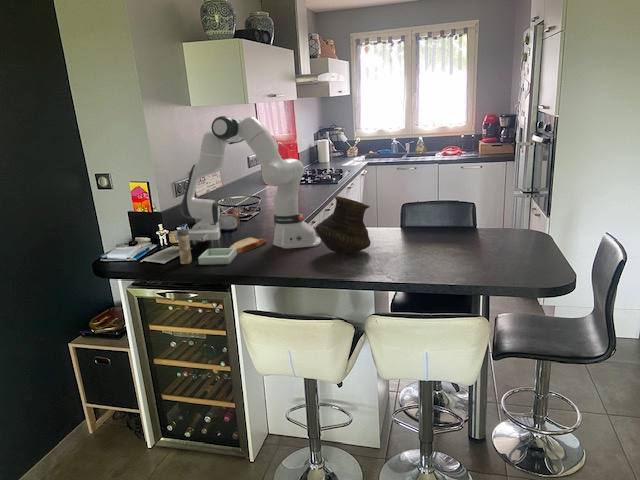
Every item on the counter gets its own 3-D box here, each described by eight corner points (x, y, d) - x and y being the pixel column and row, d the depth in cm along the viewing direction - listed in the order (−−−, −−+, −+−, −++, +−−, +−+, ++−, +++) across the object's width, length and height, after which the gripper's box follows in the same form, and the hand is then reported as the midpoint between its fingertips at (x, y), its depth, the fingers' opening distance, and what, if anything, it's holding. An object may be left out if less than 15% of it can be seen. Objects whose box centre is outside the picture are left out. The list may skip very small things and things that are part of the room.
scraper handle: (191, 261, 208) (187, 229, 204) (189, 263, 204) (185, 231, 201) (183, 261, 208) (179, 229, 204) (181, 263, 205) (176, 231, 201)
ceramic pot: (304, 255, 209) (301, 198, 202) (342, 243, 224) (341, 189, 217) (344, 266, 192) (342, 204, 185) (382, 252, 207) (382, 195, 200)
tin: (241, 228, 261) (239, 213, 259) (239, 229, 258) (238, 214, 256) (214, 228, 263) (212, 213, 261) (212, 230, 260) (210, 215, 258)
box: (237, 254, 214) (236, 248, 213) (229, 263, 202) (228, 257, 201) (208, 255, 215) (207, 248, 214) (199, 264, 203) (198, 257, 202)
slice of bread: (229, 255, 215) (228, 247, 214) (227, 245, 232) (226, 237, 231) (269, 251, 219) (269, 243, 218) (264, 241, 236) (263, 233, 235)
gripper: (179, 225, 227) (168, 232, 214) (222, 224, 225) (213, 231, 212) (181, 238, 229) (170, 246, 215) (223, 237, 227) (214, 245, 214)
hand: (192, 239), depth 214 cm, fingers open, 8 cm apart
